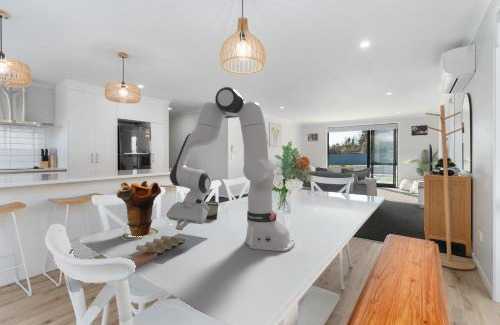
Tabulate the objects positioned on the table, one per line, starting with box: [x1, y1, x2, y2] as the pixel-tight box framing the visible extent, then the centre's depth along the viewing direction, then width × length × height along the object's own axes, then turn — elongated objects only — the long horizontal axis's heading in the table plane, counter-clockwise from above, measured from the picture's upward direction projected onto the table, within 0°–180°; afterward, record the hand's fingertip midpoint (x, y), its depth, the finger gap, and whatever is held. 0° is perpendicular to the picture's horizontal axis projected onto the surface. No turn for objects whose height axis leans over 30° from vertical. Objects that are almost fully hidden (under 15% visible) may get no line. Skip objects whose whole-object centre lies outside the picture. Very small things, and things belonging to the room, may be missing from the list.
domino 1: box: [135, 244, 165, 253], centre depth 95 cm, size 2×5×10 cm
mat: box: [128, 233, 210, 265], centre depth 105 cm, size 18×29×1 cm, turn 154°
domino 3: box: [144, 241, 173, 249], centre depth 98 cm, size 2×5×10 cm
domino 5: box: [160, 235, 185, 243], centre depth 106 cm, size 2×5×10 cm
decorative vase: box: [116, 180, 162, 241], centre depth 124 cm, size 21×23×28 cm
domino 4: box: [152, 237, 179, 246], centre depth 102 cm, size 2×5×10 cm
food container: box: [204, 201, 220, 220], centre depth 153 cm, size 12×6×10 cm, turn 84°
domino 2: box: [129, 252, 157, 268], centre depth 91 cm, size 2×5×10 cm
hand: (178, 229), depth 109 cm, fingers closed
